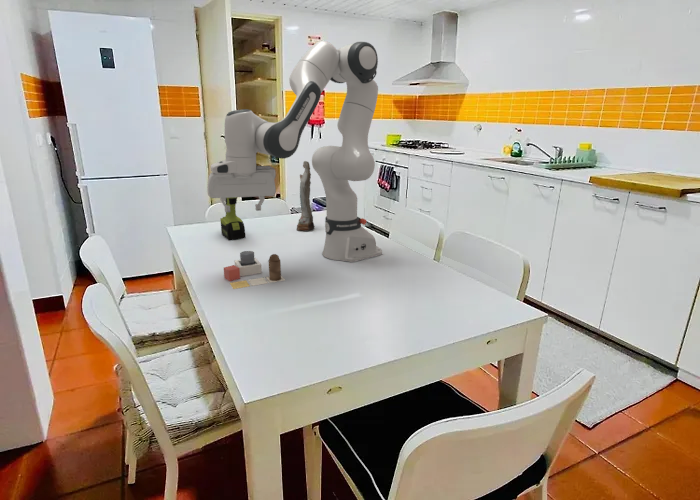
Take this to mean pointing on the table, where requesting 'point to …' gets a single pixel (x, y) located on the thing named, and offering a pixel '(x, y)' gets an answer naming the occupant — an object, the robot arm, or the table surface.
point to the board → (253, 282)
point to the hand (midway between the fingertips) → (243, 211)
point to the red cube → (231, 273)
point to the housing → (249, 268)
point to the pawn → (274, 268)
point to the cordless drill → (232, 222)
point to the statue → (305, 201)
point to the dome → (247, 258)
